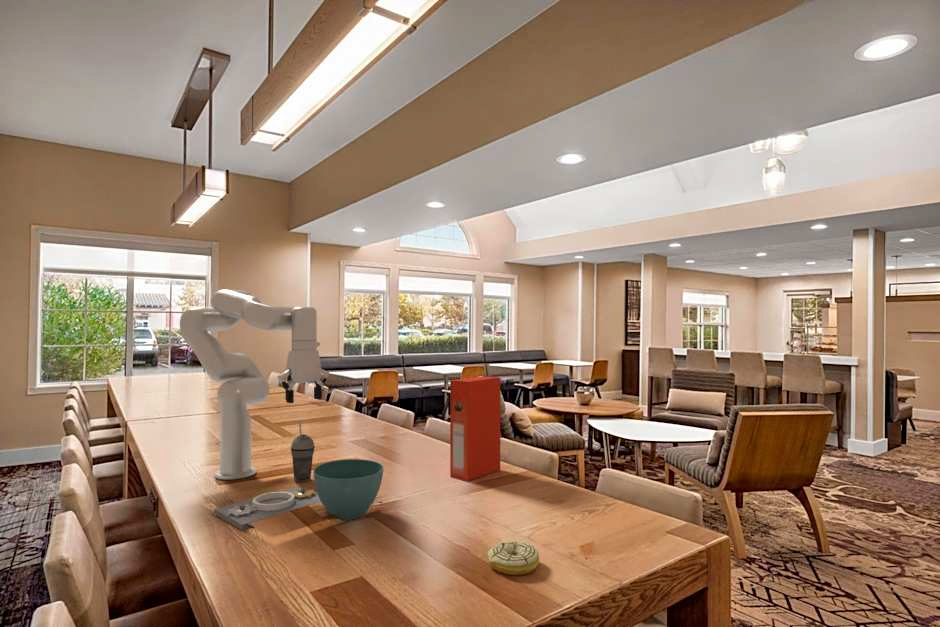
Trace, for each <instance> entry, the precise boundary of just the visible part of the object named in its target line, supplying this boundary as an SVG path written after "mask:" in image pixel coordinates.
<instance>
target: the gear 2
mask: <svg viewBox="0 0 940 627" xmlns="http://www.w3.org/2000/svg"><path fill="white" fill-rule="evenodd" d="M315 490H316V489H308V488H304V489H302V490H295V492H291V493H292V494H294V499H298V500H302V499H305V498H307V499H309V498H311V497H312V496H315V495H316V493H317V491H315Z"/></svg>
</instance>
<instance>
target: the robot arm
mask: <svg viewBox="0 0 940 627" xmlns="http://www.w3.org/2000/svg"><path fill="white" fill-rule="evenodd" d="M210 305H211V306H194V307H191V308H187V309H186V310H184V311H183V313H182V314H181V315H180V318H179V329H180V334H181V337H182V340H184V342H185V343H186V344H187V346H188V347H189V348H190V349H191V351H192V352H193V353H194V354H195V356H196V357H197V360H198V361H199V362H200V364H201V366H202V367H203V369H204V371H205V372H206V374H207V376H208V377H209V378H210V380H212V381H213V382H215V383H222V384H221V385H220V386H219V387H218V389H217V394H216V395H217V397H216V398H217V403H218V408H219V416H220V417H219V424H220V425H219V426H220V427H219V428H220V429H219V430H220V432H219V433H220V434H219V435H220V436H219V440H220V442H219V443H220V444H219V469H218V470H216V471H215V472H214V477H215V478H216V479H218V480H227V481H229V480H238V479H243V478H248V477H251V476H253V475H255V474H256V472H257V469H256V467H254V466H252V438H253V437H252V429H253V428H252V427H253V426H252V424H253V423H252V422H253V421H252V416H251V414H250V412H249V410H248V408H247V407H249V406H254V405H259V404H262V403H264V402H266V401H267V399H268V398H269V396H270V393H271V392H270V386H269V383H268V380H267V379H266V377H265V375H264V374H263V373H262V372H261V370H260V369H259V367H258V365H257V364H256V362H255V360H254V359H252V357H250V356H249V354H248V355H247V354H246V353H242V352H233V353H230V352H228V351H226V349H225V348H224V347H223V345H222V343H221V342H220V341H219V340H218V339H217V338H216V337H215V336H213V335H212V334H210V333H209V332H225V331H228V330H230V329H232V328H234V327H235V326H236V325H237V324H239V323H241V321H244V322H245V323H246V324H247V325H249V326H251V327H255V328H259V329H262V330H265V331H266V330H267V331H291V350H289V351H288V354H287V359H286V366H285V367H286V368H285V371H284V372H282V373H281V374H279V375H277V381H278V382H279V384H280V386H281V387H282V388H283V389H284V391H285V402H286V403H288V404H293V403H295V402H294V401H295V399H294V396H295V395H294V389H293V388H294V387H295V386H296V384H305V383H307V384H308V383H313V384H314V385H315V386H314V387H313V399H314V400H322V396H323V395H322V394H323V392H322V391H323V390H322V389H323V387H324V386H325V383H326V382H327V379H328V377H329V374H330V372H329V371H327V370H325V369H323V368H321V367H322V366H321V365H322V364H321V358H320V353H319V350H318V347H320V346H321V344H320V342H319V341H318V340H317V335H318V334H317V332H318V329H317V323H318V321H317V320H318V317H317V316H318V315H317V309H316V308H315V307H313V306H312V307H311V306H295V307H294V306H283V305H282V306H279V305H277V306H276V305H274V306H273V305H266V304H263V303H262V302H261V300H260V298H259V297H256V296H254V295H253V294H251V293H250V292H248V291H246V290H237V289H220V290H218V291H216V292H214V294H213V295H212V296H211V299H210Z"/></svg>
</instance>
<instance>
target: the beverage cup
mask: <svg viewBox="0 0 940 627" xmlns="http://www.w3.org/2000/svg"><path fill="white" fill-rule="evenodd" d="M301 422H302V421H301V420H298V425H299V426H298V427H299V435H297V436H296V437H294V439H293V440H292V442H291V446H290V453H291V454H290V455H291V456H292V458H291V459H292V471H293V472H292V473H293V481H294V482H295V483H308V482H310V481H311V478H312V477H311V476H312V466H313V457H314V454H315V448H316V446H315V441H314V439H313V438H312V437H311V436H309V435H307V434H303V433H302V424H301Z"/></svg>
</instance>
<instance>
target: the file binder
mask: <svg viewBox="0 0 940 627" xmlns="http://www.w3.org/2000/svg"><path fill="white" fill-rule="evenodd" d="M449 387H450V389H449V391H450V396H449V397H450V398H449V399H450V400H449V401H450V402H449V403H450V404H449V405H450V410H449V412H450V414H449V416H450V420H449V421H450V429H449V430H450V431H449V432H450V439H449V440H450V441H449V443H450V445H449V447H450V450H449V451H450V452H449V453H450V454H449V455H450V457H449V462H450V464H449V465H450V466H449V468H450V473H449V474H450V478H453V479H456V480H461V481H465V482H469V481H473V480H474V479H477V478H481V477H483V476H486V475H488V474H492V473H494V472H498V471H500V470H501V377H498V376H497V377H495V376H485V375H484V376H483V375H482V376H475V377H469V378H461V379H459V378H458V379H452V380H450V386H449Z"/></svg>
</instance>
